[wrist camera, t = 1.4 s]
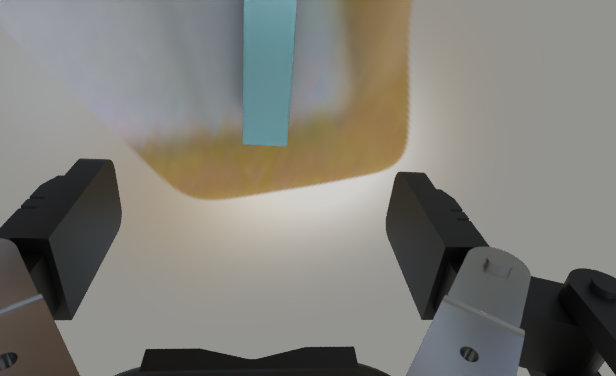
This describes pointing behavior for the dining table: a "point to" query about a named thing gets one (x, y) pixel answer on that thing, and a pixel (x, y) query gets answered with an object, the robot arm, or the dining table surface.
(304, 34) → the dining table surface
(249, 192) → the dining table surface
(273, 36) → the panel
